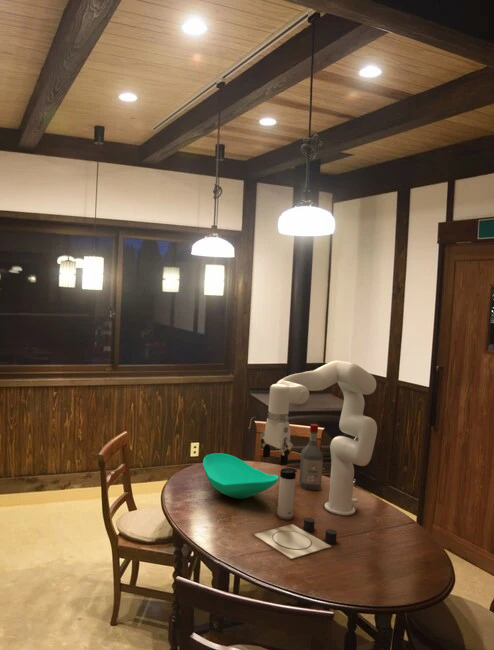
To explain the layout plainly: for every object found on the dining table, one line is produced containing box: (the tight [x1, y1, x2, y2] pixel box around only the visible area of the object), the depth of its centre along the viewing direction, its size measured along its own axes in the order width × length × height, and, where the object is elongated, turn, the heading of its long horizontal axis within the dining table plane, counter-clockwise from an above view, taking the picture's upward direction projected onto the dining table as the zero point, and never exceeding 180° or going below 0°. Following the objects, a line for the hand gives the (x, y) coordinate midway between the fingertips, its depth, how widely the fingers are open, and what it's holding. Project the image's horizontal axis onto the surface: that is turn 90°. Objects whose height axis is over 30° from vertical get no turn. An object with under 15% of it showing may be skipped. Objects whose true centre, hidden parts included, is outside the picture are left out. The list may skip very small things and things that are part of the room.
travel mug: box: [276, 467, 298, 521], centre depth 219 cm, size 6×7×20 cm
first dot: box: [302, 517, 316, 533], centre depth 209 cm, size 4×4×4 cm
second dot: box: [324, 528, 338, 545], centre depth 200 cm, size 4×4×4 cm
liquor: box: [298, 423, 324, 491], centre depth 255 cm, size 9×9×30 cm
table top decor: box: [202, 452, 280, 500], centre depth 239 cm, size 40×28×13 cm
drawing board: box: [253, 523, 332, 560], centre depth 199 cm, size 20×20×1 cm
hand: (274, 460), depth 205 cm, fingers open, 9 cm apart
